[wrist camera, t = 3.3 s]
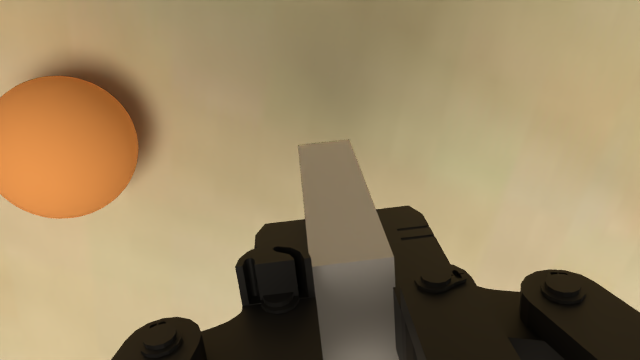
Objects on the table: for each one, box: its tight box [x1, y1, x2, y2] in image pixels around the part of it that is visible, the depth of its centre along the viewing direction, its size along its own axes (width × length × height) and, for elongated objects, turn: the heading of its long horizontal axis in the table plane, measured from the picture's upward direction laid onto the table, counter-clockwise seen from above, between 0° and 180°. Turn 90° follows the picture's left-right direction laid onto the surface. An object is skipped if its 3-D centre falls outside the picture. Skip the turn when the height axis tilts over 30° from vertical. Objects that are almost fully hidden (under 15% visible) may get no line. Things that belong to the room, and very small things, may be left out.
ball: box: [0, 76, 138, 218], centre depth 20 cm, size 6×6×6 cm
